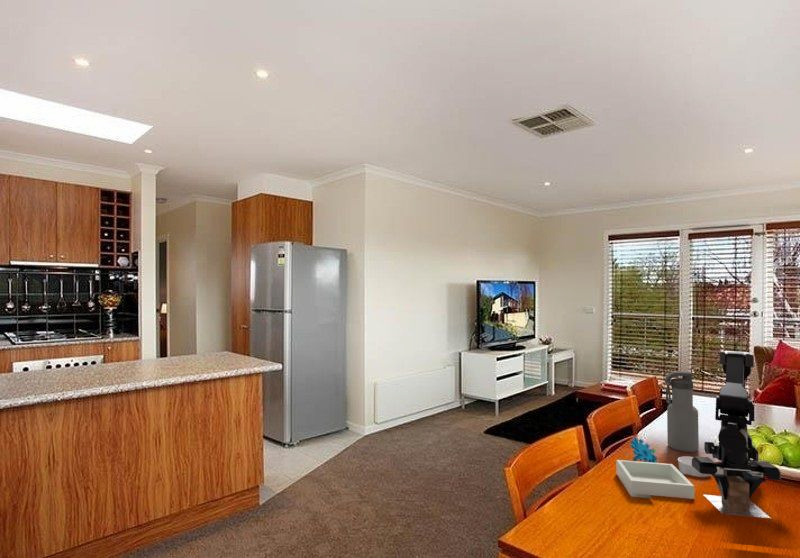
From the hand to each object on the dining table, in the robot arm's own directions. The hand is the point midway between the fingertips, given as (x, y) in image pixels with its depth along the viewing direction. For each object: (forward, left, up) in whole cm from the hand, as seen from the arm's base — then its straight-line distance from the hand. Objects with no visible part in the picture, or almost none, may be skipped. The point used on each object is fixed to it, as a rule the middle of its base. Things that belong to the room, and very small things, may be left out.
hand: (735, 499), depth 119 cm
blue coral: (+13, -30, -3) cm, 33 cm away
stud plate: (0, 0, -2) cm, 2 cm away
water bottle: (-5, -49, -3) cm, 49 cm away
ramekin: (+1, -23, -3) cm, 23 cm away
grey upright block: (0, 0, -2) cm, 2 cm away
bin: (+17, -10, -2) cm, 20 cm away
